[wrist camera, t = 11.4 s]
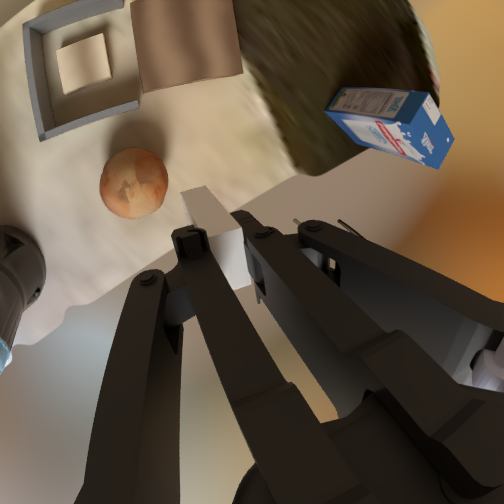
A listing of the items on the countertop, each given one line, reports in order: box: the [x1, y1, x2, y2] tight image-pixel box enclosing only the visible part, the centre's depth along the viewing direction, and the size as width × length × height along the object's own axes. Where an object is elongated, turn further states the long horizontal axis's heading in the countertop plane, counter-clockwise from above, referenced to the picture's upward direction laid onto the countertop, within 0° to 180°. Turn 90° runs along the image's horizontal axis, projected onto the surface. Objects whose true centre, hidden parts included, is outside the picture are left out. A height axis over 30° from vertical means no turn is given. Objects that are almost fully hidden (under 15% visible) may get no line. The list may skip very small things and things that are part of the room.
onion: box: [100, 148, 168, 219], centre depth 38 cm, size 10×10×10 cm
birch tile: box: [56, 33, 112, 95], centre depth 31 cm, size 7×7×3 cm
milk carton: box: [325, 87, 454, 169], centre depth 42 cm, size 10×6×20 cm, turn 53°
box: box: [22, 0, 139, 142], centre depth 29 cm, size 14×18×6 cm
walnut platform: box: [130, 0, 243, 94], centre depth 33 cm, size 14×14×4 cm
